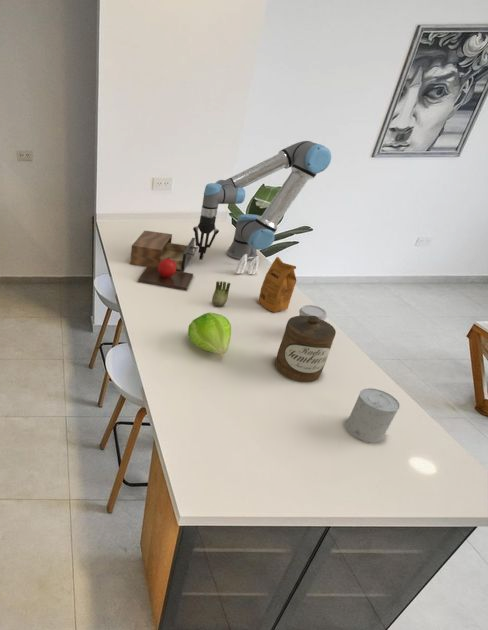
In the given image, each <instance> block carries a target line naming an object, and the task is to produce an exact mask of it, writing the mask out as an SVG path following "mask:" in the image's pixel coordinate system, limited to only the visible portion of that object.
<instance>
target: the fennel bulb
mask: <svg viewBox="0 0 488 630" xmlns="http://www.w3.org/2000/svg"><path fill="white" fill-rule="evenodd" d="M230 287H231V282H227V281H218V280H217V281H216V284H215V290H214V292H213V295H212V300H211V302H212V305H214V306H216V307H218V308H219V307H220V308H222V307H224V306H226V304H227V302H228V299H229V291H230Z"/></svg>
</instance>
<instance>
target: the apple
mask: <svg viewBox="0 0 488 630" xmlns="http://www.w3.org/2000/svg"><path fill="white" fill-rule="evenodd" d="M176 271H177V269H176V264H175V262H174V261H173V260H172V259H169V257H168V258H166V259H163V260H162V261H160V263H159V265H158V272H159V274H160V275H161V276H162V277H163V278H169V277H171V276H172V275H174V273H175V272H176Z"/></svg>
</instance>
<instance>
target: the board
mask: <svg viewBox="0 0 488 630" xmlns="http://www.w3.org/2000/svg"><path fill="white" fill-rule="evenodd" d="M193 278H194V273H191V272H187V271H184V272H182V271H181V270H176V272H175V273H174V275H172V276H171V277H169V278H163V277H162V276H161V275H160V274H159V272H158V268H156V267H150V266H147V267H145V269H144V270H143V272H142V273H141V275H140V276H139V277H138V279H137V282H138V283H142V284H148V285H153V286H156V287H157V286H159V287H163V288H169V289H174V290H178V291H179V290H180V291H185V292H187V291H188V289H189V286H190V284H191V282H192V279H193Z"/></svg>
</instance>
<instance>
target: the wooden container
mask: <svg viewBox="0 0 488 630" xmlns="http://www.w3.org/2000/svg"><path fill="white" fill-rule="evenodd" d="M335 337H336V329H335V327H334V326H333V325H332V324H330V323H329V322H327V321H325V320H324V321H323V320H321V319H319V318H318V317H316V316H299V315H295V316H292V317H290V318H288V320H287V323H286V325H285V330H284V332H283V336H282V339H281V341H280V344H279V347H278V350H277V353H276V354H277V355H276V357H275V361H274V367H275V368H276V370H277V371H278V372H279V374H281V375H282V376H283V377H286V378H287V379H290V380H293V381H297V382H300V383H301V382H302V383H311V382H315V381H317V380H319V379H320V377H321V375H322V372H323V370H324V368H325V365H326V363H327V360H328V357H329V353H330V350H331V348H332V346H333V342H334V339H335Z"/></svg>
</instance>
